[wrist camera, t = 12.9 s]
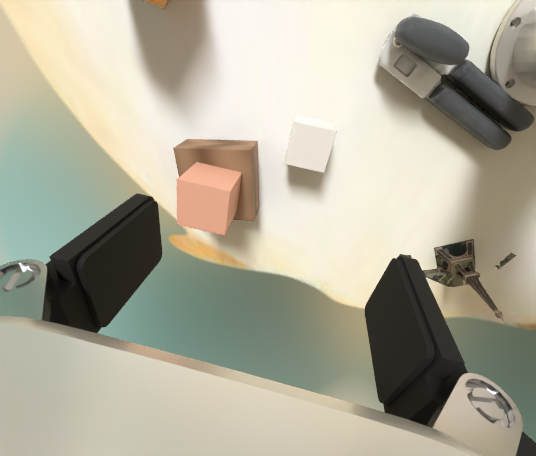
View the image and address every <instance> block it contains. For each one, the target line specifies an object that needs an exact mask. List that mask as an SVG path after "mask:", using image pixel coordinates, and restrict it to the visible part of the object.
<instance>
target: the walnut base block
mask: <svg viewBox="0 0 536 456" xmlns="http://www.w3.org/2000/svg"><path fill="white" fill-rule="evenodd" d="M174 153H175V158H176V163H177V168H178V174H179V177H180V176H181V175H182V174H184V173H185V172H186V171H187V170H188V169H189V168H191V167H192V166H193V165H194V164H195V163H196V162H199V163H203V164H207V165H212V166H216V167H220V168H225V169H229V170H233V171H238V172H242V176H241V184H240V191H239V198H238V205H237V212H236V214H235V216H234V218H233V219H234V220H250V221H254V219H255V216H256V214H257V211H258V208H259V183H258V148H257V141H240V140H200V139H187V140H186V141H184V142H182V143H181V144H179V145H178V146H176V147H174Z"/></svg>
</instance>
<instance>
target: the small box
mask: <svg viewBox="0 0 536 456" xmlns="http://www.w3.org/2000/svg"><path fill="white" fill-rule="evenodd" d="M143 1H146V2H148V3H150V4H153V5H155V6H158V7H160V8H162V9H165V7H166V4H167V2H168V0H143Z"/></svg>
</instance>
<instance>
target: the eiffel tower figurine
mask: <svg viewBox="0 0 536 456" xmlns="http://www.w3.org/2000/svg"><path fill="white" fill-rule="evenodd" d="M434 250H435V256H436V263H437V268H436V269H432V270H423V274H424V276H425V277H427V278H429V279H432V280H434V281H436V282H439V283H441V284H443V285H446V286H448V287H456V286H461V285H467V284H469V285H470V286H471V287H472V288H473V289H474V290H475V291H476V292H477V293H478V294H479V295H480V296H481V297H482V299H483V300H484V301H485V302H486V303H487V304H488V305H489V307H490V308H491V309H492V310H493V311H494V313H495V316H497V318H501V319H502V313H501V312H500V311H499V310H498V309H497V307H496V306H495V304H494V303H493V301H492V300H491V298H490V297H489V295H488V294H487V292H486V291H485V289H484V288H483V286H482V284H481V283H480V281H479V279H478V278H479V277H480V274H479V273H477V272H476V271H475V254H474V239H472V240H467V241H463V242H458V243H454V244H449V245H445V246H441V247H436V248H434ZM400 256H404V257H408V258H411V255H402V254H400ZM515 256H516V255H515V254H513V253H511V254H509V255H508V256H507V257H506V258H505V260H503V261H501V262H500V265H499V266H496V267H497V268H498V269H499V268H501V267H502V266H503V265H505V264H506V263H507V262H508V261H510V260H511V259H512V258H514V257H515ZM464 267H466V268H464ZM502 320H503V319H502ZM503 321H504V320H503ZM504 323H505V321H504ZM505 324H506V323H505Z"/></svg>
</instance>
